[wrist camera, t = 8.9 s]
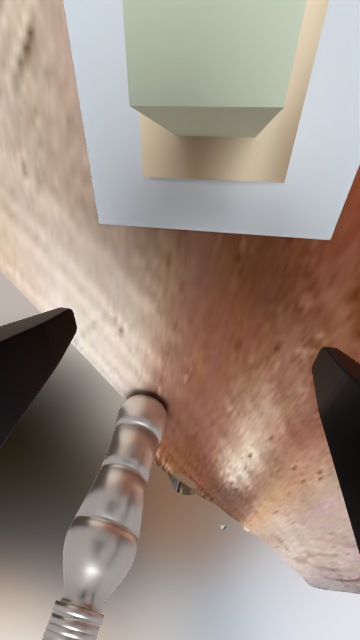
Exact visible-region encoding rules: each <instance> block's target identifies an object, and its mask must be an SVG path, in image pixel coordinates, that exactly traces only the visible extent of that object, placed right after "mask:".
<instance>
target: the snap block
mask: <svg viewBox="0 0 360 640" xmlns="http://www.w3.org/2000/svg"><path fill="white" fill-rule="evenodd" d="M306 2H307V0H122V3H123V18H124V33H125V49H126V64H127V79H128V94H129V106H130V107H132V108H134V109H135V110H137V111H138V112H140V113H141V114H143V115H145V116H146V117H148V118H149V119H151V120H152V121H154V122H156V123H157V124H159V125H160V126H162V127H163V128H165V129H167V130H168V131H170V132H171V133H173V134H174V135H176V136H209V137H248V138H255V137H256V136H257V135H258V134H259V133H260V132H261V131H262V130H263V129H264V128H265V127H266V126H267V125H268V124H269V123H270V121H271V120H272V119H273V118H274V117H275V116H276V115H277V114H278V113H279V112H280V111H281V110H282V109H283V108H284V104H285V100H286V95H287V90H288V86H289V81H290V76H291V72H292V67H293V62H294V58H295V53H296V48H297V44H298V39H299V34H300V30H301V25H302V20H303V16H304V11H305V7H306Z"/></svg>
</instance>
